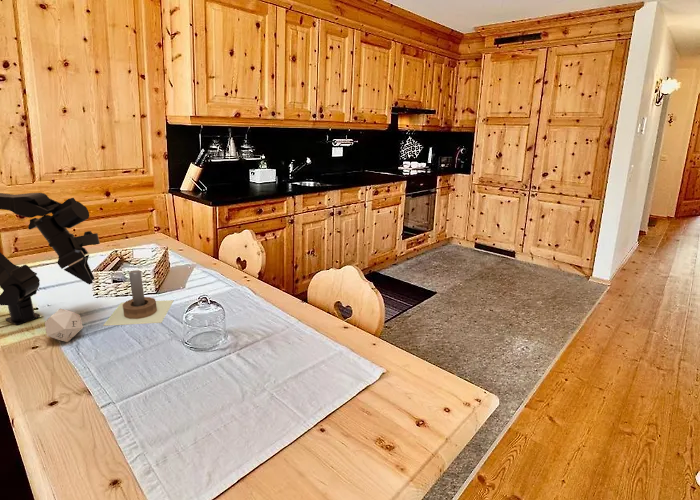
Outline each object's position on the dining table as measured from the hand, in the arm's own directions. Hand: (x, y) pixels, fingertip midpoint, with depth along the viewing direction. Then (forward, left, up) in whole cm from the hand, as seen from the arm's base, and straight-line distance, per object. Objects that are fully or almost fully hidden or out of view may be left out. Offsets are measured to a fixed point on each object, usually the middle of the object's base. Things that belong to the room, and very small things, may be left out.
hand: (92, 281), depth 128 cm
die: (+3, -11, -12) cm, 17 cm away
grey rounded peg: (+7, +9, -12) cm, 16 cm away
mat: (+7, +9, -12) cm, 16 cm away
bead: (+7, +9, -12) cm, 16 cm away
